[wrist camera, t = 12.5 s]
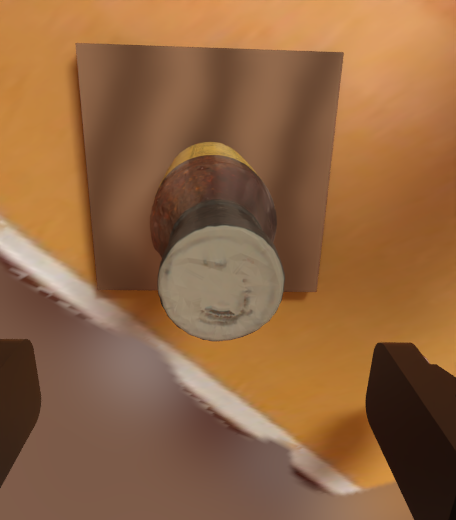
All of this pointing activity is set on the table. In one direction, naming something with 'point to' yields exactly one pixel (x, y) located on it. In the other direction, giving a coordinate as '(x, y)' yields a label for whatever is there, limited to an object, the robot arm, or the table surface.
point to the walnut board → (205, 130)
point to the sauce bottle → (216, 244)
